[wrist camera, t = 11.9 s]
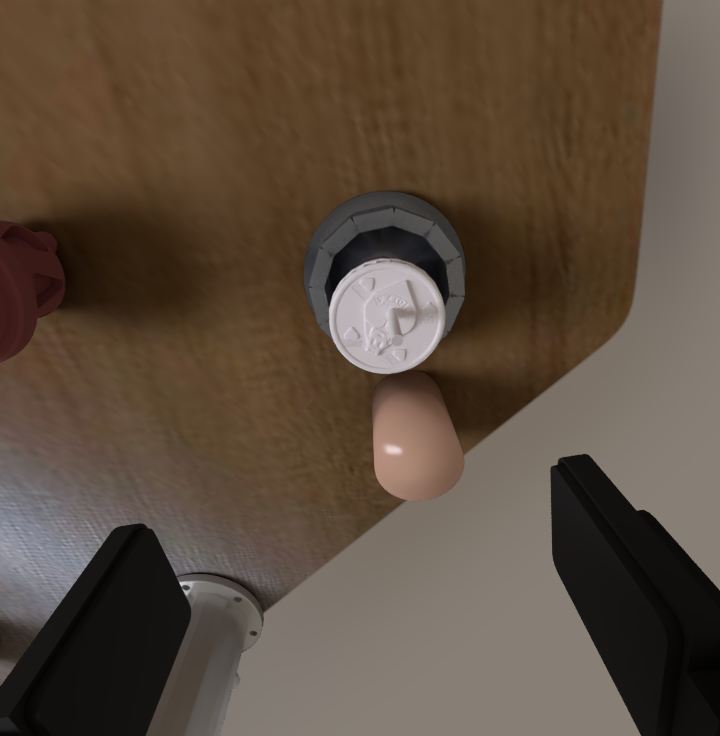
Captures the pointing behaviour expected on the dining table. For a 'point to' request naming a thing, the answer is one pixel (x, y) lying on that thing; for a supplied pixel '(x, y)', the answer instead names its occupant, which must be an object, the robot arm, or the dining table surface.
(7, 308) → the mechanical component
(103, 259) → the dining table surface
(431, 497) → the peach rounded cylinder
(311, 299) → the ring socket
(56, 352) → the dining table surface
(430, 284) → the smoothie
